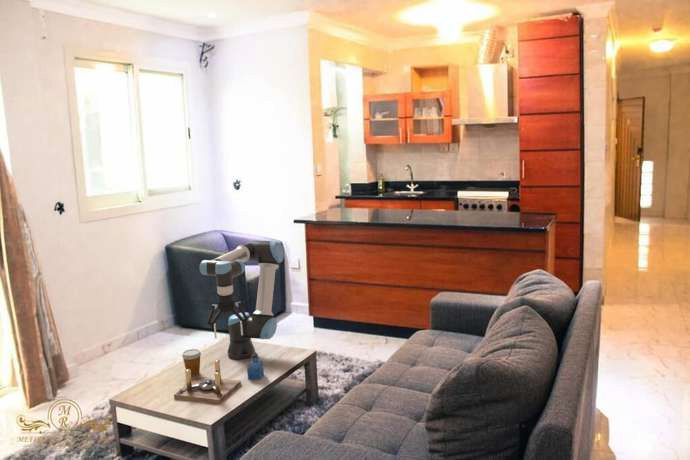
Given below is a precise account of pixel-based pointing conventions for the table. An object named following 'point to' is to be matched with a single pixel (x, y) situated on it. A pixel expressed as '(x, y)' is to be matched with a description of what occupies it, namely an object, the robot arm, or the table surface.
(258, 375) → the perfume bottle
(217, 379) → the capstan
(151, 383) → the table surface
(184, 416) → the table surface
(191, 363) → the disposable coffee cup
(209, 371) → the table surface
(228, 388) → the stand
